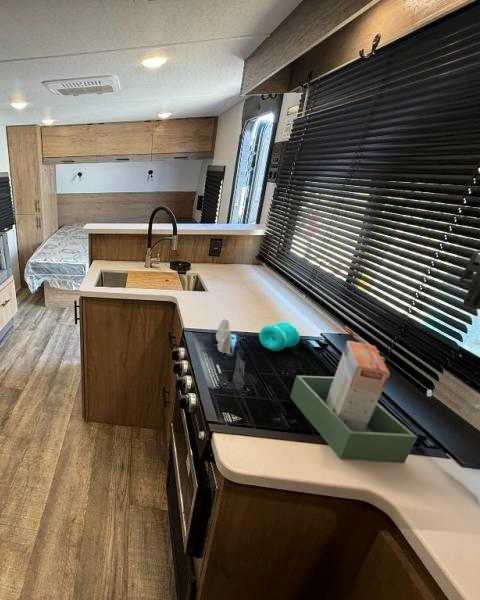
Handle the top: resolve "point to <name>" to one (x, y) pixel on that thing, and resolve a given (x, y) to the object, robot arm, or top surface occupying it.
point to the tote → (345, 443)
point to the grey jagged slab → (224, 337)
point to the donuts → (279, 336)
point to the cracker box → (357, 385)
